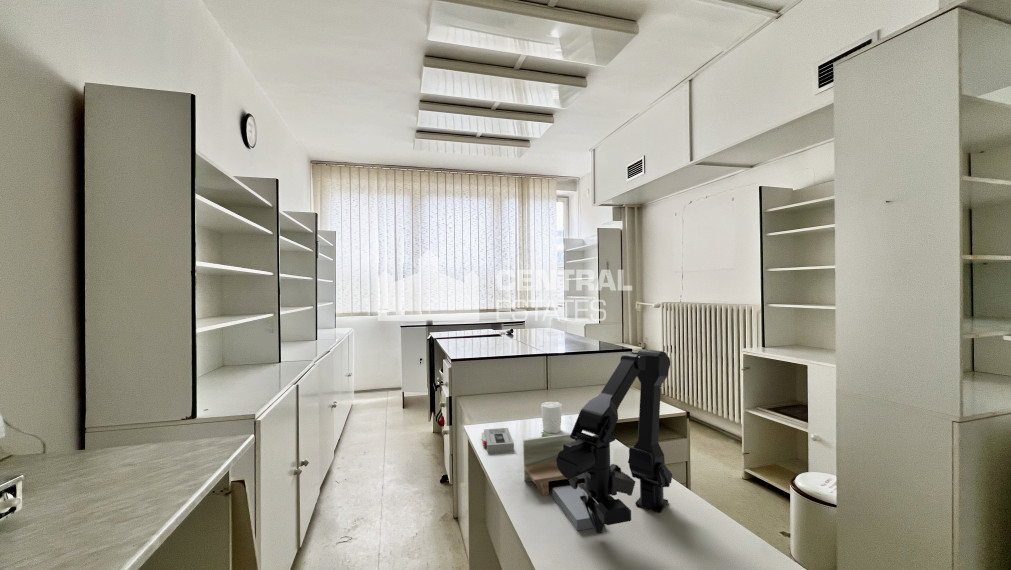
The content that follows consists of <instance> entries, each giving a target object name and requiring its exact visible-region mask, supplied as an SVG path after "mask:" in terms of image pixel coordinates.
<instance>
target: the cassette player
mask: <svg viewBox="0 0 1011 570" xmlns="http://www.w3.org/2000/svg"><path fill="white" fill-rule="evenodd" d="M481 438H482V439H481V440H482V442H483V446H484V447H486V451H487V454H493V453H506V452H507V453H508V452H514V451H515V443H514V440H513V438H512V436H511V432H510V430H509V427H498V428H485V429H483V432H481Z"/></svg>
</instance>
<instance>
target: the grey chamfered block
mask: <svg viewBox="0 0 1011 570" xmlns="http://www.w3.org/2000/svg"><path fill="white" fill-rule="evenodd" d="M580 496H583V491H582V490H581V488H580V487H579V486H578V488H577V489H573V488H572V486H571V485H570V484H569V485H568V484H567V485H563V486H556V487H552V498H553V500H554V501H555V503H557V505H558V507H559V508H560V509H561V511H562V512H563V513H564V514H565V516H566V517H567V519H568V520H569V522H570V523H571V524H572V525H573V527H574V528H575V530H576V531H583V530H588V529H594V527H593V524H592V522H591V520H590V518H589V516H588V513H587V511H586V509H585V507H584V505H583V503H582V501H581V499H580ZM604 527H605V525H604Z"/></svg>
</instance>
